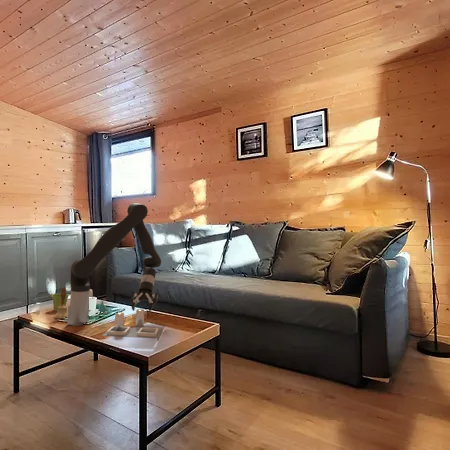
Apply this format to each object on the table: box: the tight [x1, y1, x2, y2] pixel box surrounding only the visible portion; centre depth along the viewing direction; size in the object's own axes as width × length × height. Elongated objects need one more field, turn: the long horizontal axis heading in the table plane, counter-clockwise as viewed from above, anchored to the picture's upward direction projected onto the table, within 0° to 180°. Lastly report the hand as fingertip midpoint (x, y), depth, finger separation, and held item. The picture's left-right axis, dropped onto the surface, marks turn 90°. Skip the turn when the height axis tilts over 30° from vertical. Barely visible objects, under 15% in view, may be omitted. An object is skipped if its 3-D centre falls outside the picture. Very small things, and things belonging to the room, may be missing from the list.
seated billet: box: [114, 311, 125, 332], centre depth 167 cm, size 4×4×9 cm
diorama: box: [97, 300, 109, 312], centre depth 206 cm, size 12×20×9 cm, turn 154°
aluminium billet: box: [135, 308, 145, 328], centre depth 181 cm, size 4×4×9 cm
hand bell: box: [53, 287, 68, 319], centre depth 194 cm, size 8×8×16 cm
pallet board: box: [101, 325, 164, 341], centre depth 168 cm, size 26×13×2 cm, turn 91°
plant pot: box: [51, 293, 70, 312], centre depth 209 cm, size 9×9×9 cm
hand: (141, 310), depth 183 cm, fingers open, 8 cm apart
